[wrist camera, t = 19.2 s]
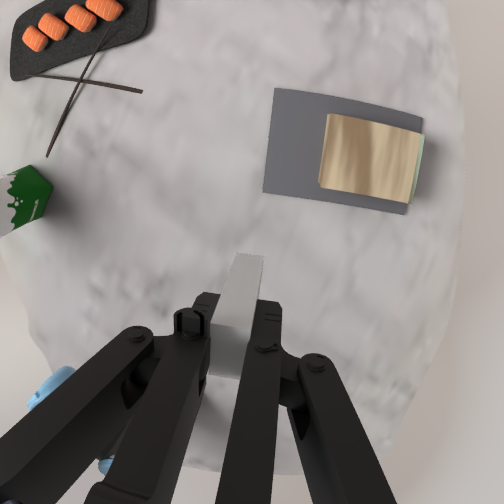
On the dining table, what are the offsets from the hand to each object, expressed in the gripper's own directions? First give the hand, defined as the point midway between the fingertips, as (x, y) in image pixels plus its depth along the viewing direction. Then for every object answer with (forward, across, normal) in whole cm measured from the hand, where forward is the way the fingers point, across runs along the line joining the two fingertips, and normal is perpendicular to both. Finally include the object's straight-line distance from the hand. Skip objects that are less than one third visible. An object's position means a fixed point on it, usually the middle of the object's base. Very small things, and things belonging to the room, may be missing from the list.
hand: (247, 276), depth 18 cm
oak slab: (+24, +6, +6) cm, 25 cm away
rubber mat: (+26, +9, +6) cm, 29 cm away
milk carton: (+27, -41, -4) cm, 49 cm away
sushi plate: (+27, -33, +17) cm, 46 cm away
